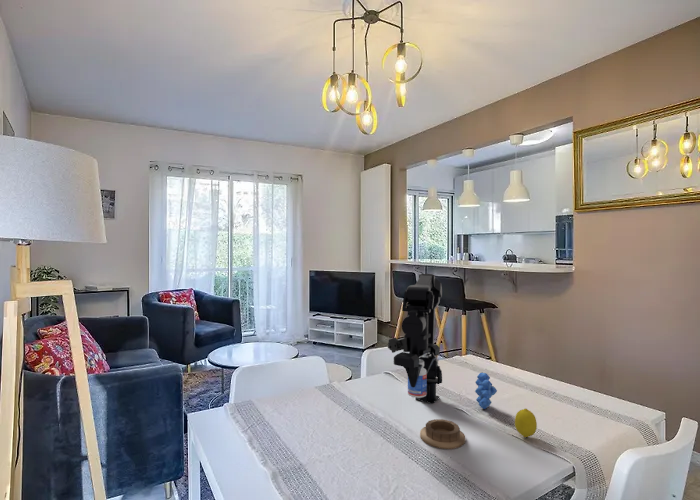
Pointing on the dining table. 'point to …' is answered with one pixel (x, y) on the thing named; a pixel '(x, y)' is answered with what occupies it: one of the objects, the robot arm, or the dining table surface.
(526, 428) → the lemon
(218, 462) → the dining table surface
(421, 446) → the dining table surface
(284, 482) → the dining table surface
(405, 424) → the dining table surface
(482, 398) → the grapes
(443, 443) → the socket
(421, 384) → the pill bottle
